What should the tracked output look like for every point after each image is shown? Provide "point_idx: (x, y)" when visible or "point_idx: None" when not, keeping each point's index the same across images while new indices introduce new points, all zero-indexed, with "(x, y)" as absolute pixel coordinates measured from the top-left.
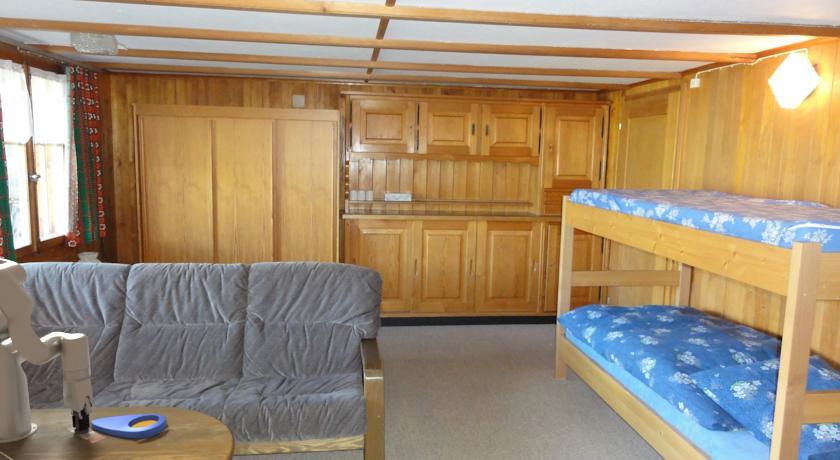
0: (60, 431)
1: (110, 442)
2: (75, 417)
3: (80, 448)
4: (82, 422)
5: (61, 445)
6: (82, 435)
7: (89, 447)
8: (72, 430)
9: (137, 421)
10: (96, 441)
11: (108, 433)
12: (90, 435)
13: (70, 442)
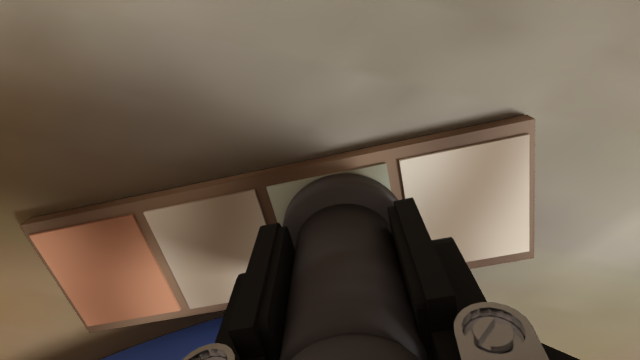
0: (567, 79)
1: (27, 320)
2: (344, 316)
3: (18, 136)
4: (228, 318)
5: (192, 3)
6: (252, 213)
7: (4, 196)
8: (441, 173)
9: None
10: (48, 264)
11: (146, 354)
12: (206, 259)
13: (211, 96)
